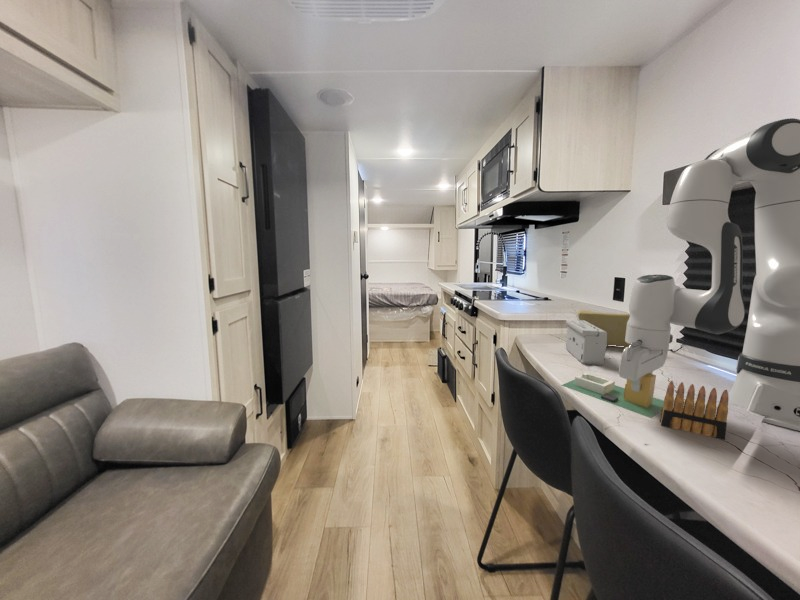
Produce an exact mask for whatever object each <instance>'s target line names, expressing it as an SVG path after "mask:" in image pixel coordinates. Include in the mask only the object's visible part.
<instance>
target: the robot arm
mask: <svg viewBox="0 0 800 600" xmlns="http://www.w3.org/2000/svg"><path fill="white" fill-rule="evenodd" d="M747 182H749V183H750V185H752V186H753V188H754V191H755V196H754V197H755V198H754V245H755V246H754V250H755V252H754V253H755V272H756V273H755V276H754V279H753V284H752V289H751V295H750V296H751V297H750V303H749V311H748V317H747V318H748V319H747V325H746V331H745V337H744V340H743V341H744V342H743V348H742V352H740V353H739V355H738V358H737V363H736V368H735V369H736V373H737V374H736V376H735V379H734V382H733V385H732V387H731V389H730V391H729V392H728V396H729V399H728V405H733V406H735V407H739V408H741V409H744V410H745V411H747V412H748V413H750V414H752V415H753V416H756V417H760V418H763V419H762V421H761V422H762V423H768V424H771V425H775V426H779V427H783V428H786V429H790V430H795V431H799V432H800V119H799V118H782V119H778V120H775V121H772V122H768V123H766V124H764V125H761V126H760V127H759V128H757V129H755V130H752V131H751V130H750V131H749V132H747V133H744V134H743V135H740V136H738V137H736V138H734V139H733V140H732V141H730V142H728V143H727V144H725V145H723V146H722V147H720V148H718V149H715V150H714V151H712V152H711V153H710V154H708V155H707V156H706V157H705V158H704V159H702V160H699V161H696V162H694V163H692V164H689V165H688V166H686V167H685V168H684V170H682V172H681V173H680V175H679V177H678V180H677V183H676V185H675V187H674V190H673V192H672V196H671V198H670V203H669V206H668V211H667V215H666V227H667V229H668V230H669V232H670V233H671V234H672V235H674V236H675V237H676V238H679V239H681V240H683V241H686V242H689V243H692V244H695V245H699V246H702V247H704V248H705V249H707V250H708V251H709V252H710V254H711V260H712V261H711V287H710V289H709V290H707V289H706V290H703V289H692V288H686V287H681V286H678V285H676V283H675V278H674V277H673V276H671V275H668V274H667V275H666V274H648V275H642V276H640V277H637V278H636V279H635V281H634V283H633V285H632V289H631V293H630V296H629V297H630V298H629V305H628V312H629V314H630V317H629V320H628V322H627V327H626V336H625V342H627V343H629V344H630V346H629V347H627V348H623V351H622V354H621V358H620V363H619V367H618V368H619V369H618V375H619V377H620V378H623V379H626V380H627V379H629V380H631V383H632V385H631V389H632V390H633V391H636V392H639V391H640V390H641V388H642V384H641V380H642V377H643V376H645V375H647V374H653V372H655V371H657V370H659V369H660V368H661V369H662V367H664V365H665V364H666V360H667V356H668V352H669V348H670V344H671V343H673V340H674V335H673V334H672V333H671V329H672V326H671V324H673V325H676V326H680V327H686V328H691V329H696V330H699V331H703V332H705V333H706V332H707V333H710V334H712V335H721V334H725V333H727V332H730V331H732V330H735V329H736V328H738V327H740V326H741V325H742V323H743V321H744V320H745V314H746V313H745V312H746V308H745V306H746V305H745V301H744V295H743V268H744V267H743V266H744V265H743V264H744V263H743V262H744V261H743V258H744V255H743V253H744V251H743V235H742V231H741V229H740V226H739V225H738V224H737V223H734V222H731V220H730V217H729V205H730V201H731V200H730V199H731V194H732V190H733V188H734V187H735V186H736V185H740V184H744V183H747ZM653 375H654V374H653Z"/></svg>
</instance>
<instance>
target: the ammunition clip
mask: <svg viewBox="0 0 800 600" xmlns="http://www.w3.org/2000/svg"><path fill="white" fill-rule="evenodd" d="M695 391H696V390H695V386H694V384H693V383H691V384H690V386H689V387H688V390H687V392H686V393H687V394H686V396H685V384H684V382H680V383H679V385H678V387H677V390H676V395H675V394H674V392H675V385H674V381H673V380H670V382H669V383H668V385H667V388H666V394H665V395H664V400H663V401H664V405H663V409H662V410H661V414H660V418H659V423H660V426H662V427H666V428H670V429H675V430H682V431H685V432H691V433H693V434H698V435H704V436H707V437H712V438H714V439H719V440H723V441H725V440H726V434H727V425H728V423H727V420H728V415H729V407H728V406H729V404H728V399H729V396H728V394H729V392H728V389H724V390H723V392H722V393H721V395H720V396H721V397H720V399H719V403H718V405H717V402H718V401H717V399H718V391H717V389H716V387H713V388H712V389H711V391H710V392H709V396H708V399H707V402H706V396H707V395H706V392H707V391H706V388H705V386H704V385H702V386H701V387H700V389H699V390H698V394H697V397H696V401H695ZM674 395H675V398H674ZM685 397H686V398H685ZM684 398H685V399H684Z"/></svg>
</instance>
